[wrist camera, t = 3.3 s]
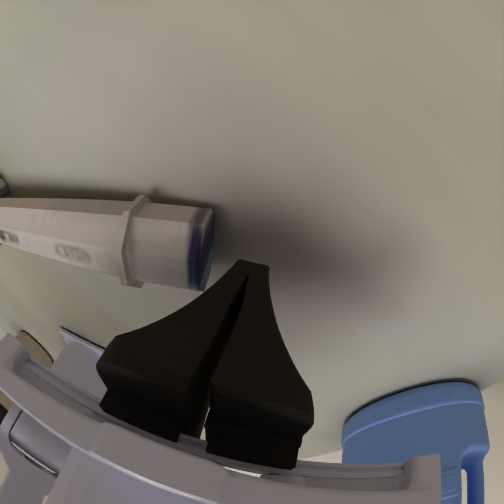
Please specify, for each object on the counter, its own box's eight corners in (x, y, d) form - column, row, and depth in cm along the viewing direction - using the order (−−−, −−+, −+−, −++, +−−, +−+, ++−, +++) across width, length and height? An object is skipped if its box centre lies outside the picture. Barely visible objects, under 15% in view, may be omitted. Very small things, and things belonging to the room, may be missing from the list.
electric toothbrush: (198, 323, 13) (-52, 254, 13) (220, 245, 18) (-11, 217, 18) (196, 224, 10) (-69, 203, 10) (225, 168, 15) (-22, 170, 15)
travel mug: (39, 357, 37) (-5, 425, 22) (15, 326, 33) (-36, 397, 18) (61, 367, 35) (14, 446, 20) (34, 334, 31) (-22, 418, 16)
